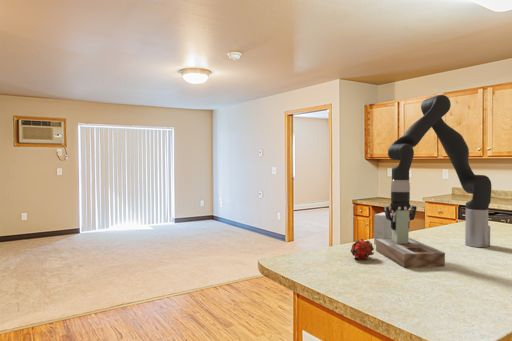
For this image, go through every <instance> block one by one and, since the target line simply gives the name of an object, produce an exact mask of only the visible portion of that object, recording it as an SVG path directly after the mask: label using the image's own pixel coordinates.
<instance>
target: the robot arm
mask: <svg viewBox="0 0 512 341" xmlns="http://www.w3.org/2000/svg"><path fill="white" fill-rule="evenodd" d="M451 106H452V105H451V100H450V98H449V97H448V96H447V95H445V94H438V95H435V96H432V97H428V98H426V99H424V100H423V101H422V102H421V104H420V109H421V110H420V111H421V113H422V116H421V117H420V118H418V120H416V121H415V122H414V123H412V124H411V125H410V126H409V127H408V129H407V130H406V131H405V132H404V133H403V135H401V136H400V137H399V138H398V139H397V140H395V141H394V142H392V143H391V144H390V146H388V150H387V156H388V158H389V159H390V160H392V161H399V163H398V165H395V166H393V167H392V168H391V185H390V204H389V205H384V206H383V209H384V210H383V211H384V212H385V215H386V219H387V220H390V221H391V229H392V230H396V222H395V220H396V210H408V211H409V225H410V221H413V220H415V217H416V212H417V209H418V207H417V206H416V205H411V204H410V200H411V198H410V197H411V196H410V195H411V193H410V192H411V185H410V184H411V183H410V171H411V166H412V164H413V160H414V155H415V153H414V151H415V150H414V147H416V146H418V144H419V143H420V141H422V139H423V138H424V136H425V135H426V134H427V132H428V131H430V129H431V128H432V130H433V132H434V134H435V135H436V137H437V138H438V140H439V142H440V144H441V146H442V148H443V150H444V152H445V154H446V156H447V157H448V158H449V161H450V163H451V164H452V167H453V168H454V170H455V173H456V174H457V178H458V180H459V182H460V183H459V184H460V185H461V187H462V189H463V191H464V192H466V193H467V194H471V195H472V198H471V200H469V201H467V202H465V221H464V222H465V225H464V226H465V227H464V228H465V229H464V230H465V231H464V232H465V234H464V237H465V239H464V240H465V241H464V243H465V245H466V246H469V247H475V248H487V247H491V225H489V206H490V204H491V200H492V180H491V179H490V178H489V176H487V175H483V174H475V173H474V171H473V170H472V168H471V166H470V163H469V156H470V151H469V150H470V149H469V146H468V144H467V143H466V140H465V139H464V137H463V135H462V134H461V133H459V132H458V131H457V130H455V129H454V128H452V127H451V126H449V125H448V124H447V123H446V122H445V121H444V119H443V117H445V115H447V114H448V112H449V111H450V109H451ZM392 210H393V211H392ZM390 211H391V212H390ZM393 212H395V214H393ZM390 213H392V214H391V215H392V216H391V215H390Z"/></svg>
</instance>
